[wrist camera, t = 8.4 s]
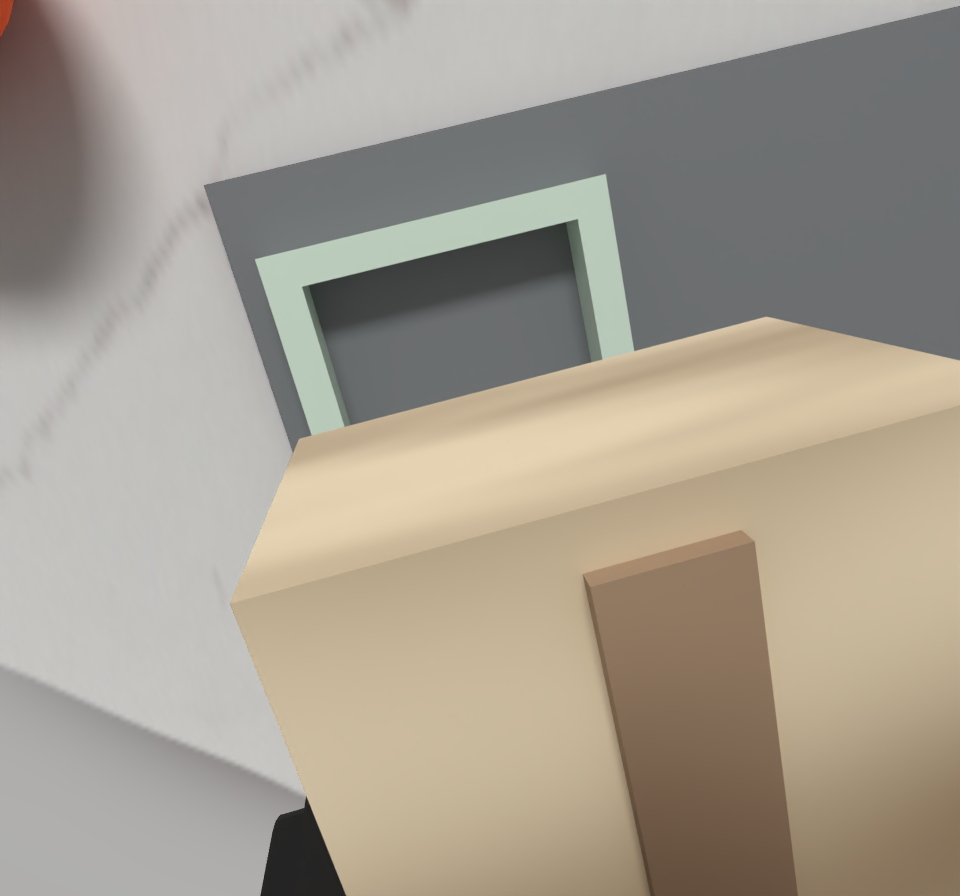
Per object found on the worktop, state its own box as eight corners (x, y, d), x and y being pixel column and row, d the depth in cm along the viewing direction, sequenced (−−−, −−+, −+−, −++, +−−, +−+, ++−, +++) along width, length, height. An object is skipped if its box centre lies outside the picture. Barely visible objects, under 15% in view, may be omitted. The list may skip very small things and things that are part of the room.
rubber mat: (985, 1, 22) (996, -3, 21) (985, 572, 28) (993, 577, 27) (207, 185, 20) (203, 185, 20) (390, 736, 27) (390, 744, 26)
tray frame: (591, 177, 21) (605, 173, 20) (656, 568, 25) (672, 588, 24) (264, 257, 21) (254, 259, 19) (386, 641, 25) (386, 666, 24)
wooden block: (824, 872, 12) (1045, 1196, 8) (478, 977, 12) (526, 1368, 8) (766, 317, 9) (1075, 385, 5) (298, 438, 9) (223, 618, 5)
